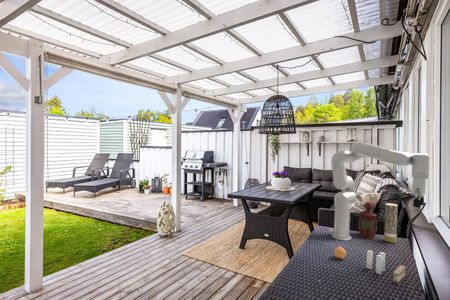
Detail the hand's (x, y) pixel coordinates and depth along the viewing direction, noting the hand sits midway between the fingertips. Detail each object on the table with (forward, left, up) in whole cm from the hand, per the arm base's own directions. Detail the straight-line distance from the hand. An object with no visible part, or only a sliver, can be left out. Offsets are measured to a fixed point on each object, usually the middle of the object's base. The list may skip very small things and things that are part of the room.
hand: (418, 205), depth 145 cm
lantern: (-32, +21, -30) cm, 49 cm away
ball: (-28, -34, -27) cm, 52 cm away
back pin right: (-8, -36, -30) cm, 48 cm away
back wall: (0, -34, -30) cm, 45 cm away
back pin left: (-8, -31, -30) cm, 44 cm away
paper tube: (-18, +22, -30) cm, 42 cm away
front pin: (-13, -34, -30) cm, 47 cm away
